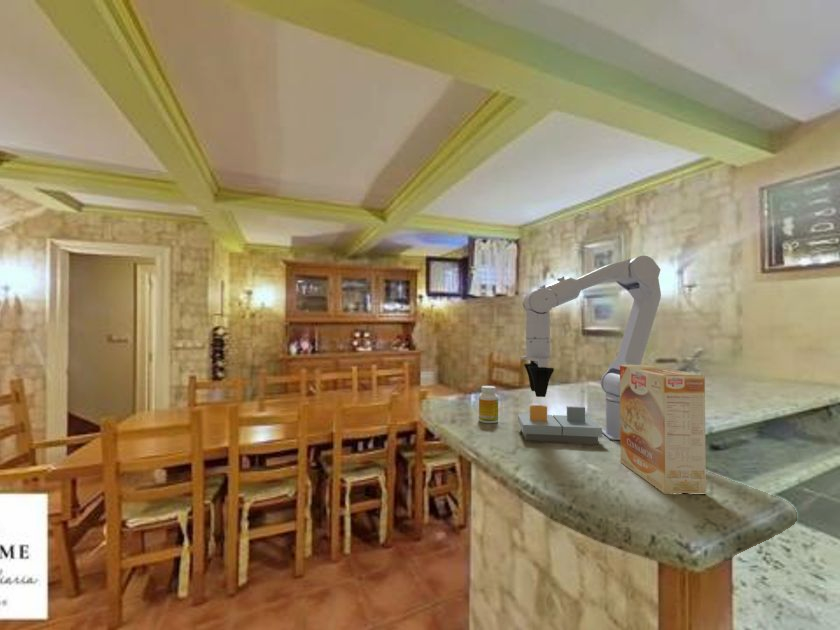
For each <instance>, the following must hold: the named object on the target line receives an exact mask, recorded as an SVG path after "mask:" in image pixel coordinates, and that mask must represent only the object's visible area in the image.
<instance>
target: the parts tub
mask: <svg viewBox="0 0 840 630" xmlns="http://www.w3.org/2000/svg"><path fill="white" fill-rule="evenodd" d="M520 431H521V433H522V435H523V438H524V440H525V442H529V443H532V442H533V443H551V444H555V443H556V444H573V445H591V446H592V445H595V446H598V445H599V437H590V436H567V435H563V430H562V435H545V434H523V432H522V430H521V429H520Z"/></svg>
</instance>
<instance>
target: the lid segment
mask: <svg viewBox="0 0 840 630" xmlns="http://www.w3.org/2000/svg"><path fill="white" fill-rule="evenodd" d="M552 416H553V417H554V418H555V419H556V421H557V422H558V423H559V424H560V425H561V426H562V430H563V435H567V436H590V437H598V438H603V433H602V429H603V427H601V426H600V425H599V424H598V423H596V422H595V421H594V420H593V419H591V417H589V416H586V407H584V406H570V405H569V406H568V405H567V406H566V415H563V414H562V415H559V414H557V415H556V414H553V415H552Z"/></svg>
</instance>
